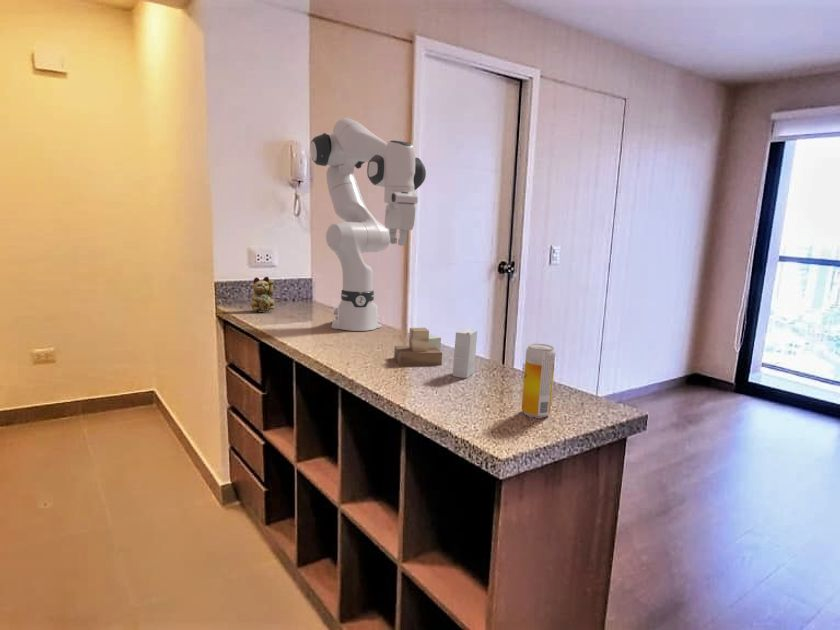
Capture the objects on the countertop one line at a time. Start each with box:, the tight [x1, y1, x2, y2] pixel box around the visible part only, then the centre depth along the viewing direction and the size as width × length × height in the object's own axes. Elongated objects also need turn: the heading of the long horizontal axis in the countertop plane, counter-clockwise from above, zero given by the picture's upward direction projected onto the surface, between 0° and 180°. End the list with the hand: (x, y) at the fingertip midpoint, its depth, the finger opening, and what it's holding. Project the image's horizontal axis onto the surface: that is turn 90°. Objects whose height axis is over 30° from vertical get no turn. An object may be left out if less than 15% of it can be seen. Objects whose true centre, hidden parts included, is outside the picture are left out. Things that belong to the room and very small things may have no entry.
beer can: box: [521, 343, 556, 419], centre depth 115 cm, size 6×6×15 cm
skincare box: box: [452, 328, 478, 379], centre depth 143 cm, size 6×4×12 cm
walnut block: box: [393, 345, 443, 367], centre depth 156 cm, size 9×12×4 cm
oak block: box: [408, 327, 430, 351], centre depth 155 cm, size 4×4×6 cm
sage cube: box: [428, 334, 442, 351], centre depth 168 cm, size 5×5×5 cm
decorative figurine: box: [250, 276, 275, 313], centre depth 225 cm, size 10×8×15 cm
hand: (397, 244), depth 161 cm, fingers open, 8 cm apart
